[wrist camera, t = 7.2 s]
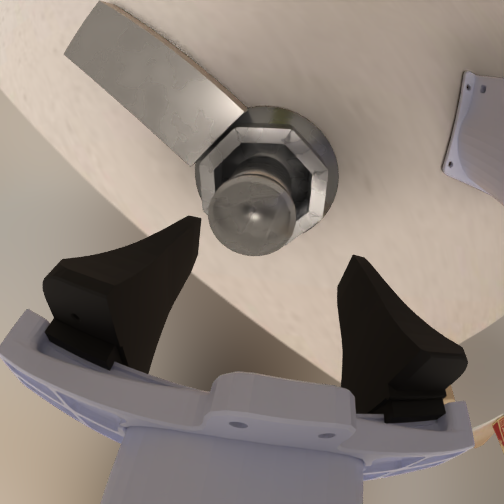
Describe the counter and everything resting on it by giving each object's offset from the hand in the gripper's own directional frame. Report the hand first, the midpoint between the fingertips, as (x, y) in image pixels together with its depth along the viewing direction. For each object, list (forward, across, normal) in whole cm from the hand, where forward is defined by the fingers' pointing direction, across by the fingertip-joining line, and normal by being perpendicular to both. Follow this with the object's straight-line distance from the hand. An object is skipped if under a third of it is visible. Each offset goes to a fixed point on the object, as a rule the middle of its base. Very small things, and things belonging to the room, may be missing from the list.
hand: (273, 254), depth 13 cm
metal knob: (+9, +2, 0) cm, 9 cm away
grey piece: (+10, +8, -4) cm, 13 cm away
